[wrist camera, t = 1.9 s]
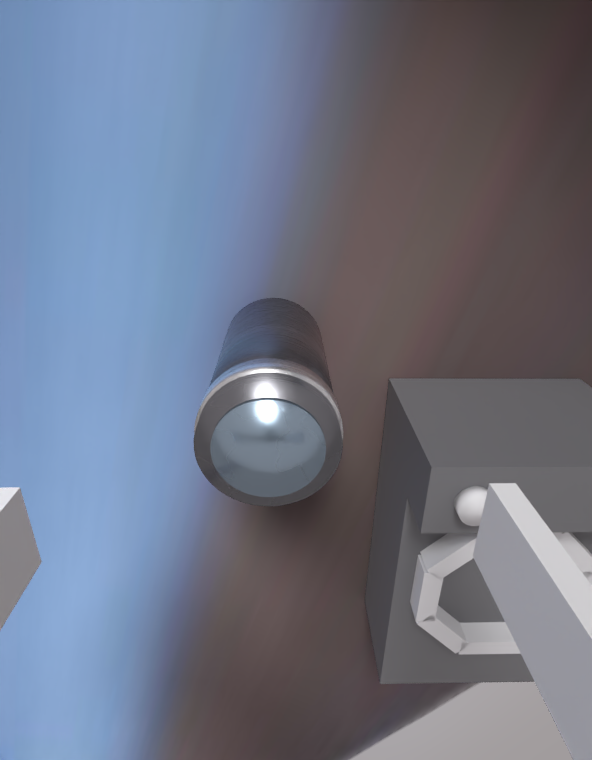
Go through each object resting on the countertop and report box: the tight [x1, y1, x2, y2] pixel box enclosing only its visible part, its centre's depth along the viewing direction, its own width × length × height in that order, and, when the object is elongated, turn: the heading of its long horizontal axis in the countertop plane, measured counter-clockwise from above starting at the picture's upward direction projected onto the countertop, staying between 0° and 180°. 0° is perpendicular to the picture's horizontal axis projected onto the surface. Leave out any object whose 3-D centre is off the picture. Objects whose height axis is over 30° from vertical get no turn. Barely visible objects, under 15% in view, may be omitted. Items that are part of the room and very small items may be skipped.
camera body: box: [365, 378, 592, 684], centre depth 26 cm, size 18×11×9 cm, turn 179°
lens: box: [194, 298, 343, 506], centre depth 21 cm, size 5×5×10 cm
